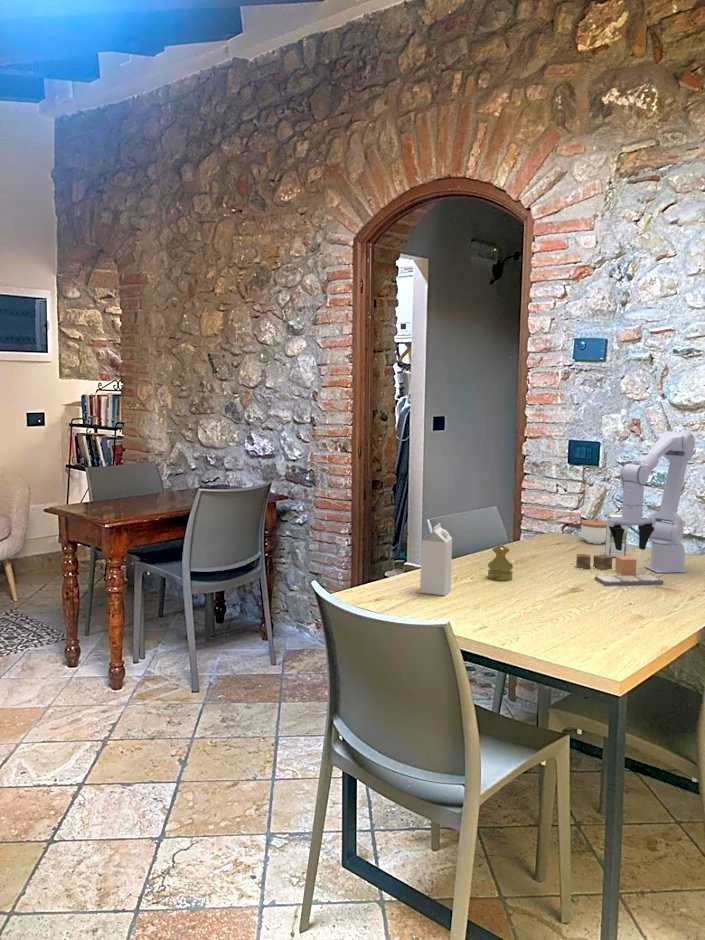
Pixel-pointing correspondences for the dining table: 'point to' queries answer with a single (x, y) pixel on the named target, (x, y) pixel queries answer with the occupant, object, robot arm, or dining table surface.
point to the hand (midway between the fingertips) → (630, 549)
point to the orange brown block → (625, 565)
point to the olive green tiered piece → (500, 565)
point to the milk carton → (436, 562)
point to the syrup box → (610, 544)
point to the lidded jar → (594, 531)
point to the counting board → (629, 580)
